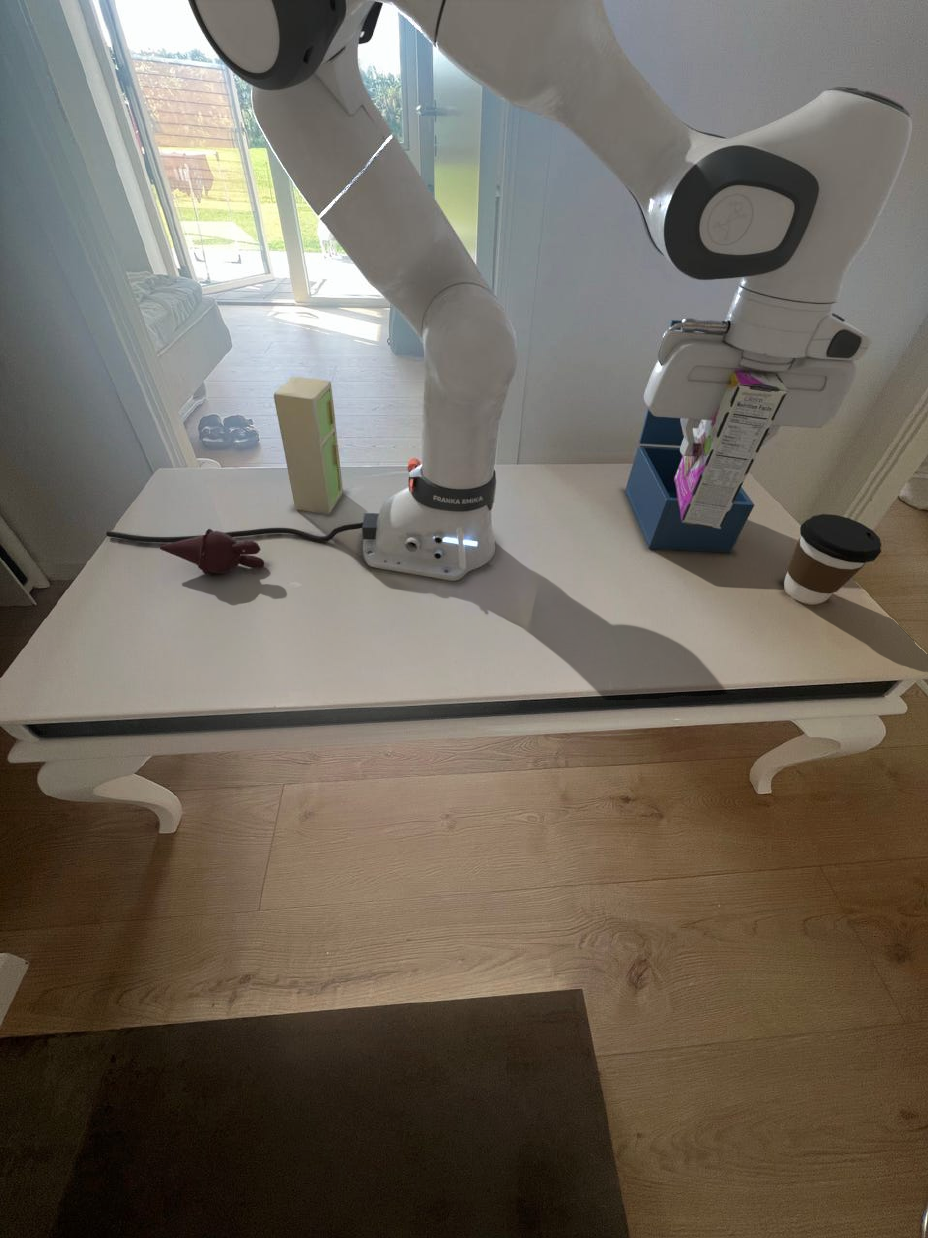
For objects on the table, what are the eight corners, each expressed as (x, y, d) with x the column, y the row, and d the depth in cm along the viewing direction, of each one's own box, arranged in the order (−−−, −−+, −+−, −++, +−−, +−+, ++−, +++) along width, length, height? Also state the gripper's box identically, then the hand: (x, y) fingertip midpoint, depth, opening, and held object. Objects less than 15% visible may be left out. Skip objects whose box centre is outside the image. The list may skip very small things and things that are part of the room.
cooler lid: (759, 326, 87) (746, 321, 91) (672, 320, 87) (663, 315, 91) (716, 447, 100) (706, 439, 104) (639, 443, 99) (633, 434, 103)
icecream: (143, 552, 74) (253, 562, 76) (159, 513, 78) (263, 523, 80) (160, 580, 80) (261, 588, 82) (174, 542, 84) (271, 551, 86)
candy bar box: (670, 478, 70) (721, 346, 58) (709, 484, 69) (767, 352, 58) (678, 524, 62) (739, 381, 50) (721, 531, 61) (792, 388, 50)
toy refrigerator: (333, 515, 94) (317, 398, 80) (294, 510, 95) (271, 392, 80) (347, 493, 100) (335, 380, 86) (311, 488, 101) (292, 375, 86)
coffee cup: (829, 578, 89) (871, 518, 81) (848, 621, 82) (896, 560, 73) (762, 566, 91) (797, 506, 82) (775, 607, 83) (814, 546, 75)
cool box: (730, 552, 93) (754, 504, 86) (648, 548, 93) (666, 500, 86) (695, 494, 107) (714, 449, 100) (624, 490, 107) (638, 445, 100)
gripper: (678, 325, 49) (634, 462, 58) (889, 343, 50) (811, 475, 59) (660, 307, 53) (622, 437, 63) (853, 324, 54) (787, 449, 64)
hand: (715, 456), depth 61 cm, fingers closed on candy bar box, 5 cm apart
